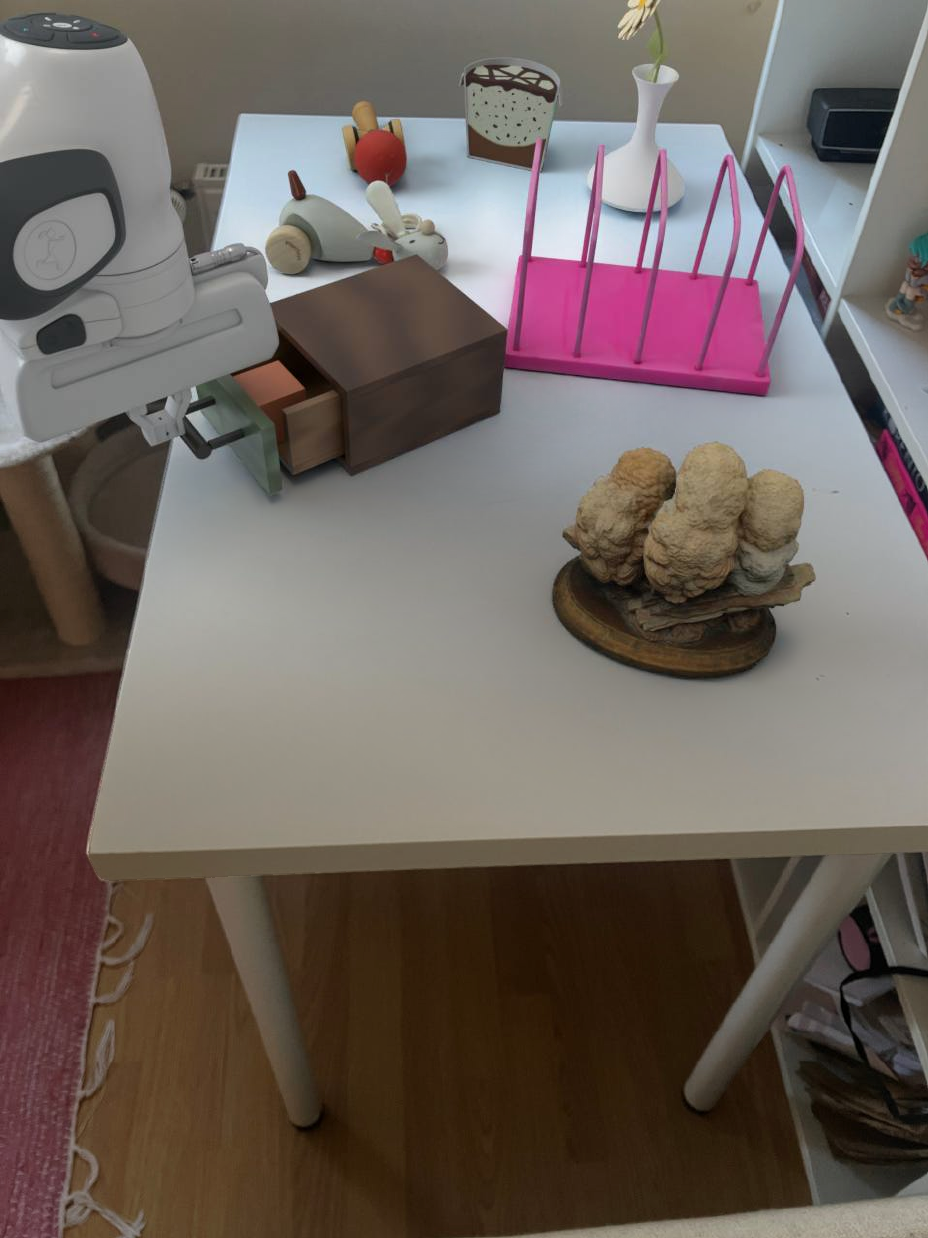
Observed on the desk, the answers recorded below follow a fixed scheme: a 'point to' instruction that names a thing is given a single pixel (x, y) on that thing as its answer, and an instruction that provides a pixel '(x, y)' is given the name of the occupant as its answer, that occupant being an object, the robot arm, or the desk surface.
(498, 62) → the food container
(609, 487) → the owl figurine
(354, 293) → the cabinet
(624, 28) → the flower in vase
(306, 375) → the drawer
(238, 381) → the block
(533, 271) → the file sorter
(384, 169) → the kendama
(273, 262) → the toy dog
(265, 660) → the desk surface
